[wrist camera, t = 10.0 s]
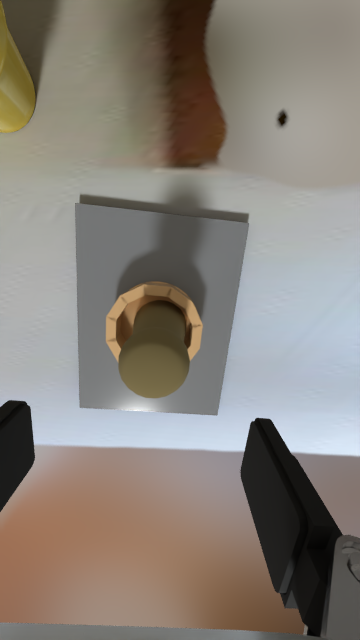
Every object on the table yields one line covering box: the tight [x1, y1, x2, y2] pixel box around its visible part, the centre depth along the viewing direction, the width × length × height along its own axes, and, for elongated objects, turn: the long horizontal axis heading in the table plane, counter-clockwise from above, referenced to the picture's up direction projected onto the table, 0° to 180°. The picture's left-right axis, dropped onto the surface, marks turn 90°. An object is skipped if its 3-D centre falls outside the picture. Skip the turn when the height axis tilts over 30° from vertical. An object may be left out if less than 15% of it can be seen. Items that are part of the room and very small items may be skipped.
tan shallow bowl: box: [106, 281, 203, 361], centre depth 24 cm, size 10×10×3 cm
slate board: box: [75, 203, 249, 415], centre depth 26 cm, size 18×24×1 cm
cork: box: [118, 300, 190, 399], centre depth 20 cm, size 6×6×11 cm
